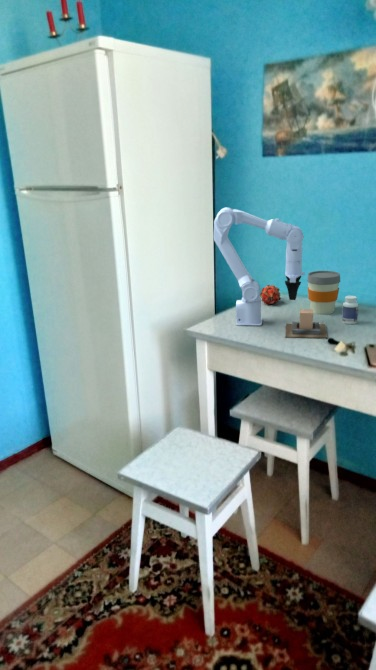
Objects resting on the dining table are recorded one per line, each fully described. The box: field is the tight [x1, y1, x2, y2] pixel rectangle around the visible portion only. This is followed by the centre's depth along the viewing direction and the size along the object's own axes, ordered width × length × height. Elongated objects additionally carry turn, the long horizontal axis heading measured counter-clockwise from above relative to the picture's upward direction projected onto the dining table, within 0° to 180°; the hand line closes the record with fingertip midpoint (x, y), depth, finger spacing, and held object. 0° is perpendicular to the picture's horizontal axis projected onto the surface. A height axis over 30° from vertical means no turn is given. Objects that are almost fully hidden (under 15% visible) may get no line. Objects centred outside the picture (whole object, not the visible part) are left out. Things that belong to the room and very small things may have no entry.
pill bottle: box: [341, 295, 359, 325], centre depth 177 cm, size 5×5×10 cm
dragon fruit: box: [259, 284, 282, 306], centre depth 206 cm, size 8×8×12 cm
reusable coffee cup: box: [306, 270, 341, 315], centre depth 191 cm, size 13×13×15 cm
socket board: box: [284, 321, 328, 340], centre depth 172 cm, size 14×14×2 cm
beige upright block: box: [299, 308, 314, 329], centre depth 171 cm, size 4×4×7 cm
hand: (292, 297), depth 179 cm, fingers open, 7 cm apart
